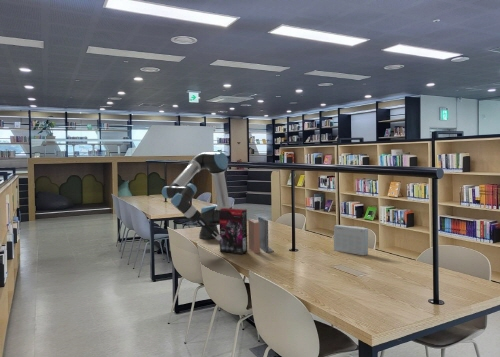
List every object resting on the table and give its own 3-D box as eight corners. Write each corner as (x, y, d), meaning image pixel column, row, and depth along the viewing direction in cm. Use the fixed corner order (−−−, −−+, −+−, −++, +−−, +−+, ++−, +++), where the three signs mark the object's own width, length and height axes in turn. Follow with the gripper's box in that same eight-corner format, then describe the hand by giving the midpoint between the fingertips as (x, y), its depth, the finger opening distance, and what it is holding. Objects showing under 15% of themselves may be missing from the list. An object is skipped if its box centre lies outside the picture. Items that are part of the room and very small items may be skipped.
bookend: (258, 246, 262) (258, 216, 261) (266, 246, 264) (265, 216, 262) (266, 252, 247) (265, 220, 246) (274, 252, 248) (273, 220, 247)
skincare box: (368, 254, 240) (368, 228, 239) (364, 256, 236) (364, 229, 235) (337, 248, 254) (337, 224, 253) (333, 250, 250) (333, 225, 249)
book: (248, 248, 259) (248, 219, 258) (253, 247, 260) (253, 219, 259) (254, 253, 246) (253, 222, 245) (259, 252, 247) (259, 222, 246)
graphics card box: (219, 252, 250) (218, 209, 249) (224, 249, 257) (224, 207, 255) (242, 255, 242) (242, 210, 241) (248, 252, 249) (247, 209, 247)
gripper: (187, 216, 246) (214, 241, 252) (189, 220, 234) (217, 246, 239) (195, 208, 248) (222, 232, 253) (198, 210, 235) (226, 236, 241)
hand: (220, 239), depth 246 cm, fingers closed
